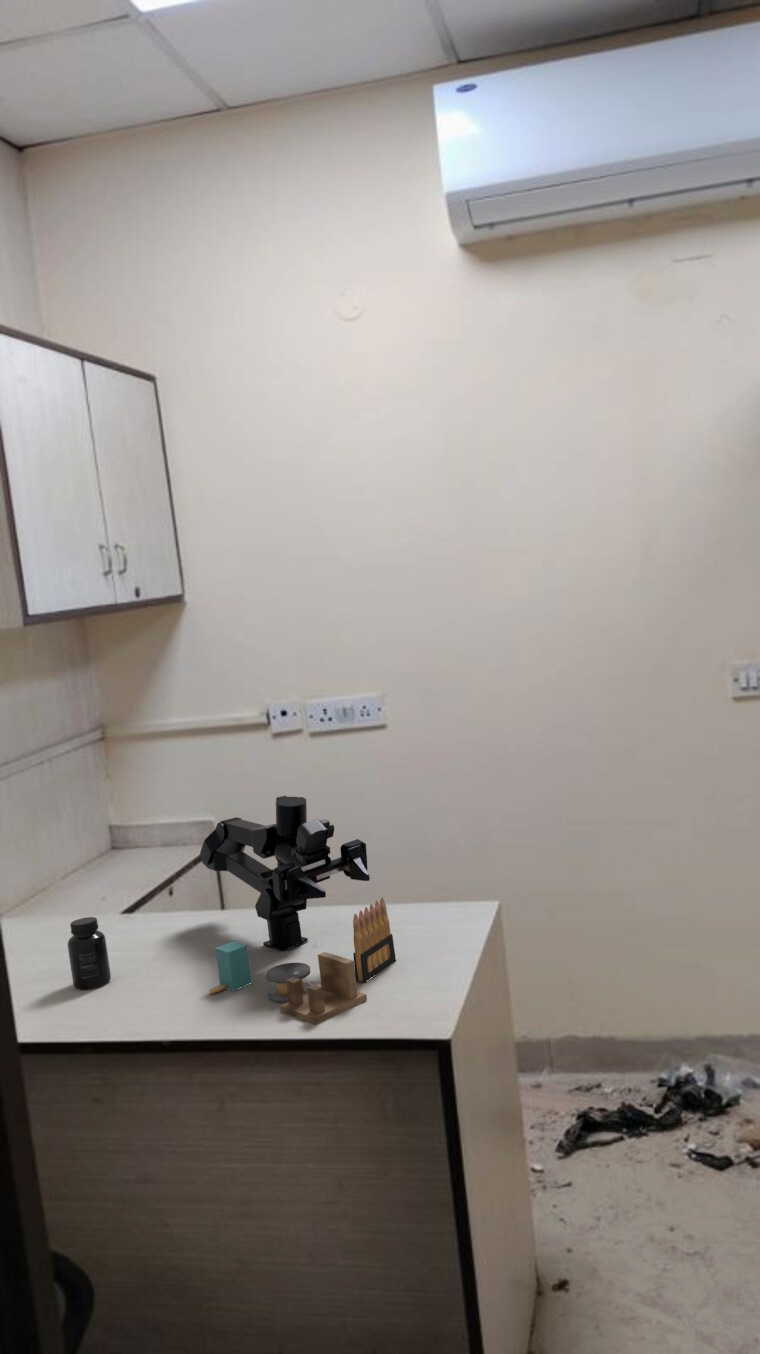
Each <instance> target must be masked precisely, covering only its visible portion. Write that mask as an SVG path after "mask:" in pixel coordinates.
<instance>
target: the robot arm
mask: <svg viewBox="0 0 760 1354" xmlns="http://www.w3.org/2000/svg"><path fill="white" fill-rule="evenodd" d="M275 800H276V801H275V823H273V824H267V825H266V824H265V825H264V824H259V823H256V822H253V821H250V820H249V821H248V820H244V819H242V817H232V818H227V819H224V820H220V821H219V822H217V824H216V826H215V828H214V830H213V831H212V832H211V833H210V834H208V836H207V837H206V838H205V839H204V841H203V844H202V846H201V849H200V852H199V855H200V860H201V863H202V864H203V865H204V866H205V868H207V870H208V869H209V870H211V871H215V872H228V873H230V874H232V875H233V876H235V877H236V878H238V879H239V880H241V881H242V882H244V883H245V884H247V885H249V887H251V888H253V889H254V890H255V891H257V892H258V893H260V895H259V896H258V899H257V901H256V903H255V905H254V907H255V911H256V915H257V917H259V918H261V919H263V920H266V921H267V922H266V923H267V924H266V925H267V930H268V932H267V933H268V938H269V939H267V941H264V942H263V946H265V947H268V948H271V949H275V950H277V951H281V952H283V951H287V950H289V949H292V948H294V947H296V946H300V945H302V944H304V943H307V942H308V941H309V940H308V939H309V938H308V937H304V936H302V932H301V931H302V930H301V923H300V922H301V921H300V919H299V918H300V917H299V916H300V915H299V912H300V911H304V910H305V911H306V910H307V903H308V901H307V900H310V899H311V900H312V899H313V900H314V899H320V898H321V899H325V898H326V896H327V895H326V891H325V890H324V889H323V887H321V886H320V885H319V884H318V883H320V882H324V881H327V880H329V879H331V876H332V875H335V874H339V873H341V872H343V874H344V875H345V876H346V877H349V878H350V880H354V881H363V882H369V881H370V879H371V878H370V874H369V872H368V855H367V844H366V843H365V842H364V841H363V840H360V839H358V838H357V839H354V840H351V841H348V842H345V843H342V844H341V846H340V857H338V858H337V857H336V858H335V859H331V857H330V856H329V855H330V854H331V847H330V846H328V845H327V844H328V839H330V838H333V837H334V834H335V826H334V824H333V823H332V822H331V821H330V820H328V819H325V818H322V819H314V820H311V821H310V820H309V821H308V820H307V819H308V817H307V816H308V815H307V814H308V813H307V812H308V810H307V808H308V806H307V798H305V797H303V796H287V795H282V796H277V797H276V798H275ZM246 846H248V847H251V848H252V852H253V853H254V854H255V855H257V856H258V857H260V858H261V859H268V858H272V857H274V859H275V860H276V861H277V866H276V867H275V868H273V869H271V868H270V867H268V866H267V865H265V864H263V863H261V861H258V860H257V859H255V858H253V857H252V856H250V855H249V854H248V853H245V852H244V851H245V848H246Z"/></svg>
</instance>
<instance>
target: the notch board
mask: <svg viewBox="0 0 760 1354" xmlns="http://www.w3.org/2000/svg"><path fill="white" fill-rule="evenodd" d="M317 959H318V960H317V961H318V967H319V976H320V985H321V986H320V985H318V984H311V986H309V987H307V991H308V993H307V994H305V995H303V993H302V985H301V980H300V979H297V978H294V977H292V978H290V979H288V980H286V983H287V991H288V1000H289V1002H287V1003H281V1004H280V1005H279V1007H280V1012H282V1013H285V1014H287V1015H290V1016H292V1017H295V1018H298V1019H300V1020H303V1021H305V1022H309V1023H310V1024H314V1025H317V1024H319V1023H322V1022H324V1021H326V1020H328V1019H330V1018H332V1017H334V1016H337V1015H339V1014H341V1013H342V1012H345V1011H347V1010H349V1009H351V1008H354V1007H356V1006H357V1004H358V1005H360V1004H362V1003H364V1002H366V1001H367V1000H368V997H367V993H364V992H361V991H358V988H357V987H358V986H357V982H356V977H355V966H354V959H349V958H346V957H343V956H341V955H340V956H339V955H337V954H333V953H329V952H327V951H324V952H322V953H319V954H317ZM365 1000H366V1001H365ZM363 1001H364V1002H363ZM361 1002H362V1003H361ZM359 1003H360V1004H359ZM355 1005H356V1006H355Z"/></svg>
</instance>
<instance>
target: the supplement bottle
mask: <svg viewBox="0 0 760 1354" xmlns="http://www.w3.org/2000/svg"><path fill="white" fill-rule="evenodd" d="M99 928H100V927H99V923H98V919H97V917H96V916H89V917H88V916H87V917H82V918H78V919H75V920H73V921H71V923H70V934H71V937H70V938H69V939H68V941H67V950H68V958H69V965H70V971H71V978H72V985H73V987H74V988H75V989H77V990H81V991H88V990H93V989H97V988H101V987H103V986H106V985H107V984H109V982H110V981H111V978H112V974H111V968H110V961H109V960H110V959H109V954H108V947H107V945H108V944H107V939H106V935H105V934H104V933H103V932H102V931H99Z"/></svg>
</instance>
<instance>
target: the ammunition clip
mask: <svg viewBox="0 0 760 1354" xmlns="http://www.w3.org/2000/svg"><path fill="white" fill-rule="evenodd" d="M369 905H370V906H369V908H368V907H367V906H366V907H365V908H364V911H362V909H361V910H359V915H357V913H354V915H353V921H352V924H353V925H352V927H353V947H354V953H353V960H354V968H355V977H356V983H361V982H364V983H363V984H366V983H367V982H368V981H367V980H369V979H370V978H371V977H373V976H374V975H376V974H377V975H379V974H380V973H381V972H383V971H385V969H387V968H388V967H390V966H391V965H393V964H394V963H396V961H397V959H396V953H395V952H396V951H395V943H394V936H393V933H391V925H390V919H389V915H388V911H387V905H386V902H385V899H384V897H381V898H380V901H378V900H375V903H374V905H373V904H372V903H371V904H369ZM382 970H383V971H382ZM379 972H380V973H379ZM378 973H379V974H378ZM377 975H376V976H377ZM374 977H375V976H374ZM374 977H373V978H374ZM370 980H371V979H370ZM370 980H369V981H370ZM366 981H367V982H366ZM365 982H366V983H365Z"/></svg>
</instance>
